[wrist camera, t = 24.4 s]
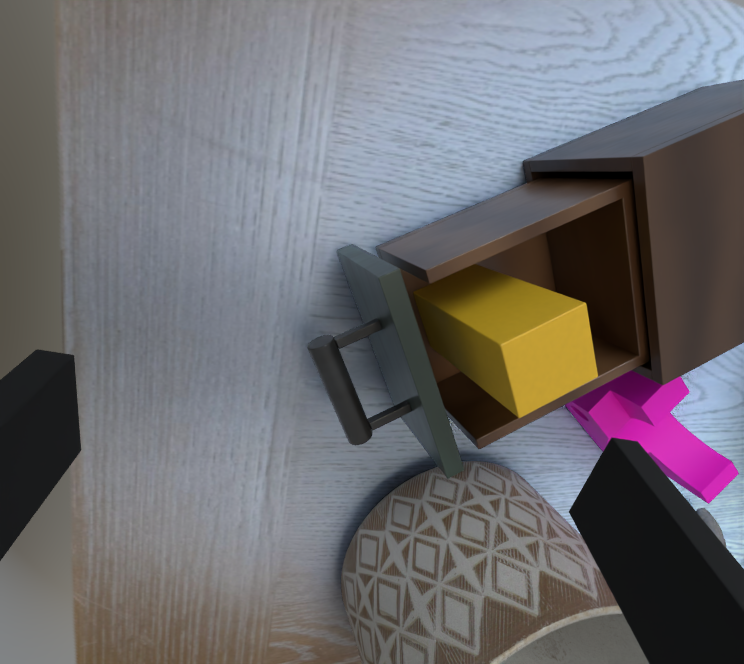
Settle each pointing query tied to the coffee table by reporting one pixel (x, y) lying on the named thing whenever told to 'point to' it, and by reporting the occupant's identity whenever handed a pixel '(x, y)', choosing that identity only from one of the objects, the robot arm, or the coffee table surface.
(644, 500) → the robot arm
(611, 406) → the toy block
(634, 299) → the drawer
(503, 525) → the planter
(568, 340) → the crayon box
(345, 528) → the coffee table surface
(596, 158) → the cabinet
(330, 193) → the coffee table surface
